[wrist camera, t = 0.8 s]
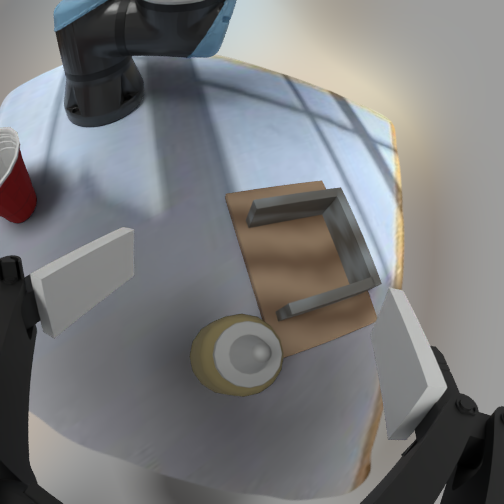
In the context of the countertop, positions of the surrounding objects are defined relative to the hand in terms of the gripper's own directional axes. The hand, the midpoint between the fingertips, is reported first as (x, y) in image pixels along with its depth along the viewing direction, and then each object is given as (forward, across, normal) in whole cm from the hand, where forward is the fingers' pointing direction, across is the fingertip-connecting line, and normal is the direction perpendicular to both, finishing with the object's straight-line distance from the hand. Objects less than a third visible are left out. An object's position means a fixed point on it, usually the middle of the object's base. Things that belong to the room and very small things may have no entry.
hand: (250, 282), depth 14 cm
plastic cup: (+13, -37, -5) cm, 40 cm away
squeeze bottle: (+13, -3, -17) cm, 21 cm away
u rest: (+24, +3, -8) cm, 25 cm away
